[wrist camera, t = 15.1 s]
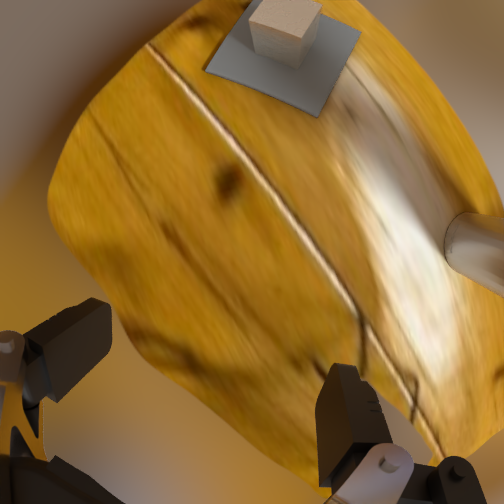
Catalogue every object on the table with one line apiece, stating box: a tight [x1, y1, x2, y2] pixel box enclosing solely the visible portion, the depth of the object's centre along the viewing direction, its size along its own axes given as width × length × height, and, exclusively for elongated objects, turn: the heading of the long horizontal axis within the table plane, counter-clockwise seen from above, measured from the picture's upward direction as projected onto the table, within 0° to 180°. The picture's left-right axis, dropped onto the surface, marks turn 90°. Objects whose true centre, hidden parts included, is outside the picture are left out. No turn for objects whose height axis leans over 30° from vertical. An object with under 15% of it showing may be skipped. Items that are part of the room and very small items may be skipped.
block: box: [248, 0, 323, 70], centre depth 25 cm, size 6×6×8 cm
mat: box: [205, 0, 361, 118], centre depth 29 cm, size 16×16×3 cm
